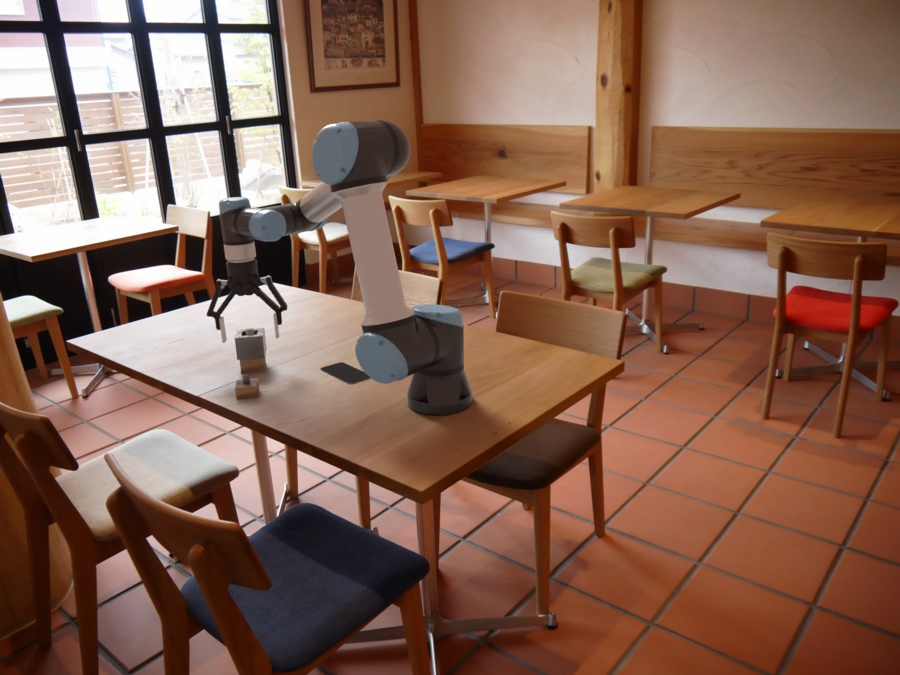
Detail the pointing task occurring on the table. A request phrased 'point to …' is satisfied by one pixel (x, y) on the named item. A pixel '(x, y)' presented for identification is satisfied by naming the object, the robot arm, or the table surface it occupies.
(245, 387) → the block
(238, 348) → the grey hollow square block
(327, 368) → the smartphone
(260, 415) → the table surface
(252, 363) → the wooden peg stand
